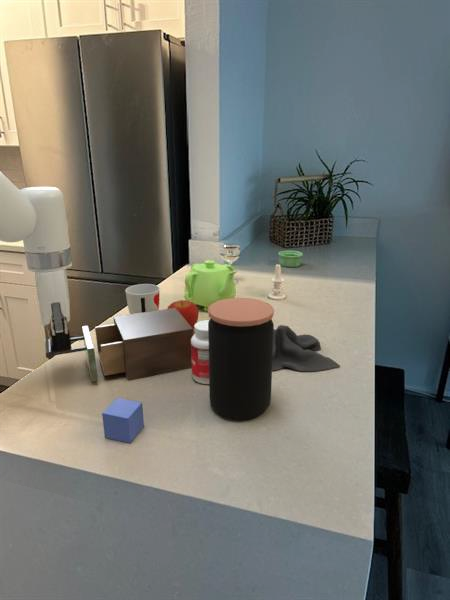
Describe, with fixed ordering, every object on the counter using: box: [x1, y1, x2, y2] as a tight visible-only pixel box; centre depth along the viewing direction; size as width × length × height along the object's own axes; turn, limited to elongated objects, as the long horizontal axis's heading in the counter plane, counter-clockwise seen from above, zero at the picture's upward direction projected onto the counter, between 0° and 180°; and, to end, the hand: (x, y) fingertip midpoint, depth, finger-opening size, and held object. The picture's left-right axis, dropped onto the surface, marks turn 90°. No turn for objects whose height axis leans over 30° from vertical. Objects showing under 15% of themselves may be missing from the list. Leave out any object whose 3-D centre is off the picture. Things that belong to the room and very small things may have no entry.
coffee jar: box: [207, 297, 275, 421], centre depth 72 cm, size 11×11×18 cm
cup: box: [125, 283, 161, 314], centre depth 106 cm, size 8×8×10 cm
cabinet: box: [113, 308, 194, 381], centre depth 89 cm, size 14×13×9 cm
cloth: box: [272, 324, 341, 373], centre depth 92 cm, size 22×19×6 cm
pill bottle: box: [191, 319, 210, 385], centre depth 82 cm, size 6×6×11 cm
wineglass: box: [219, 243, 242, 285], centre depth 140 cm, size 7×7×12 cm
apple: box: [167, 299, 200, 331], centre depth 103 cm, size 8×8×8 cm
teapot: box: [183, 259, 238, 312], centre depth 120 cm, size 16×14×13 cm
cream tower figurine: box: [267, 262, 287, 301], centre depth 126 cm, size 5×5×10 cm
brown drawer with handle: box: [44, 323, 126, 382], centre depth 86 cm, size 20×11×7 cm, turn 112°
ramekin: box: [278, 250, 304, 268], centre depth 161 cm, size 9×9×4 cm
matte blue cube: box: [101, 397, 145, 444], centre depth 67 cm, size 4×4×4 cm
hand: (62, 351), depth 83 cm, fingers closed
